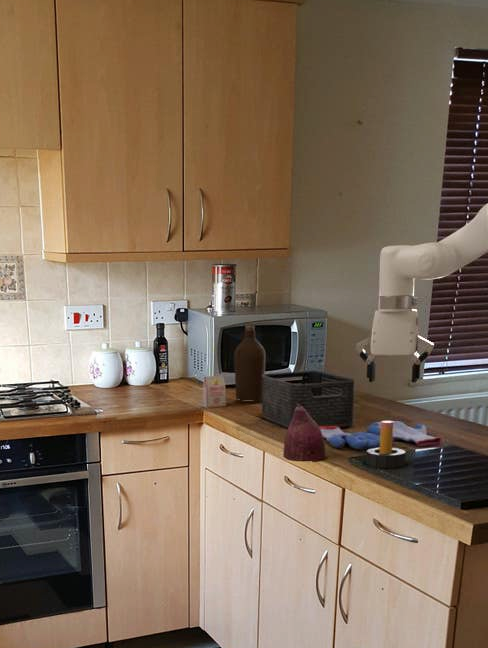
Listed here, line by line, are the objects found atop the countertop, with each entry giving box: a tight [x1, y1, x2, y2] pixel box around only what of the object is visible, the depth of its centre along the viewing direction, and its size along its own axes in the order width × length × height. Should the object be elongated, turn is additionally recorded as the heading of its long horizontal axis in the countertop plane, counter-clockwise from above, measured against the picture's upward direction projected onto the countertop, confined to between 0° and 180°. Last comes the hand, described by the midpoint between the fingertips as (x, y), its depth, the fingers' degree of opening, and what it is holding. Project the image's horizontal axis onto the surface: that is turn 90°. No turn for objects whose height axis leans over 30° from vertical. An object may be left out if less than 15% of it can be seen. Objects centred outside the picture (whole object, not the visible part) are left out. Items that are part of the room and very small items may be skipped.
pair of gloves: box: [319, 419, 442, 451], centre depth 232 cm, size 32×26×4 cm
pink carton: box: [202, 375, 227, 409], centre depth 290 cm, size 4×7×10 cm, turn 108°
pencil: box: [379, 420, 393, 454], centre depth 206 cm, size 3×3×10 cm
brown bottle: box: [233, 325, 267, 404], centre depth 295 cm, size 11×11×25 cm
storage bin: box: [261, 370, 355, 429], centre depth 258 cm, size 29×19×13 cm
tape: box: [365, 447, 407, 469], centre depth 207 cm, size 9×9×3 cm
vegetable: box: [283, 404, 327, 463], centre depth 213 cm, size 10×10×15 cm
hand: (392, 381), depth 200 cm, fingers open, 9 cm apart
